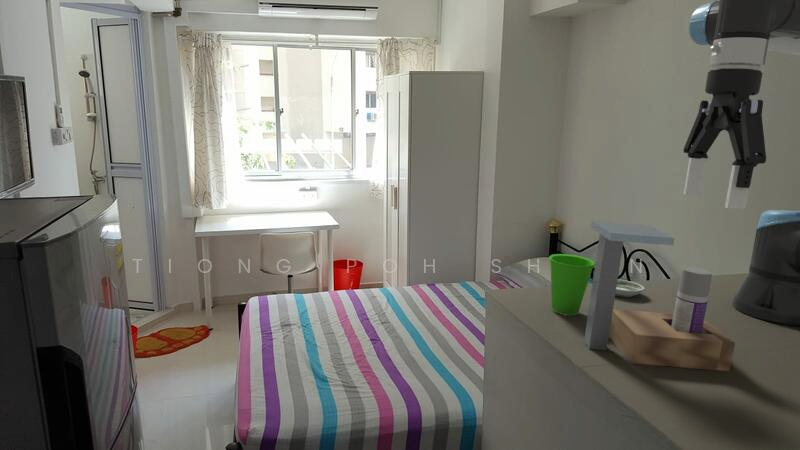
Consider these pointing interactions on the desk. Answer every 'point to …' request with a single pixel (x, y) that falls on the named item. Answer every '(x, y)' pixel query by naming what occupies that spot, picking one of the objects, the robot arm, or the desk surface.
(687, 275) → the container
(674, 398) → the desk surface
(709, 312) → the desk surface
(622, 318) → the socket block
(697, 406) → the desk surface
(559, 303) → the cup
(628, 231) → the grey flat-topped post
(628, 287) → the saucer
